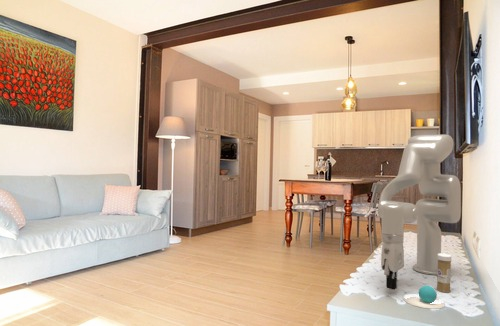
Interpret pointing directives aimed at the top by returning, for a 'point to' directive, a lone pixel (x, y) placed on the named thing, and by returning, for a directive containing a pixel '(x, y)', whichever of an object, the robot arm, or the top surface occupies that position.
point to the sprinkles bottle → (444, 272)
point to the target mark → (423, 303)
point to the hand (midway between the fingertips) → (391, 288)
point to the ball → (427, 294)
